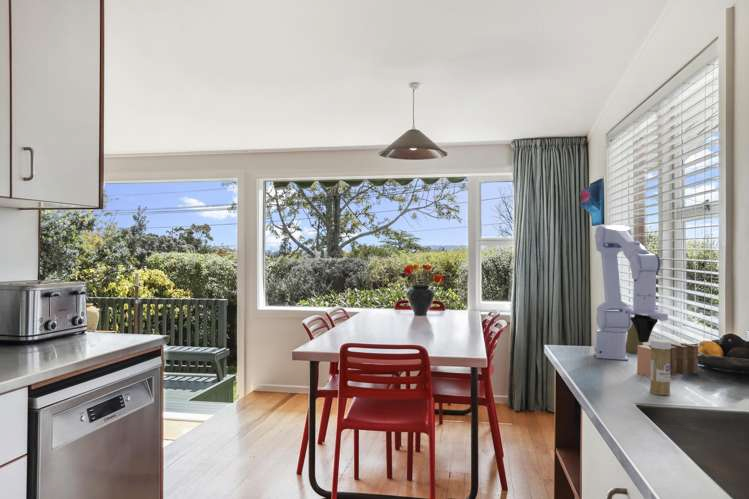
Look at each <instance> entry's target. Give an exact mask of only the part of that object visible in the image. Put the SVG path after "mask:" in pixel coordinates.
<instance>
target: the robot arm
mask: <svg viewBox="0 0 749 499" xmlns="http://www.w3.org/2000/svg"><path fill="white" fill-rule="evenodd" d="M594 238H595V249H596V251H597V252H599V253H600V256H601V266H602V277H603V278H602V280H603V288H604V289H603V290H604V301H603V302H602V303H600V304H598V306H597V308H596V318H595V319H596V324H597V327H598V328H599V329H595V332H594V350H593V351H594V354H595V357H596V358H598V359H606V360H619V361H628V360H629V357H628V356H627V354H626V353H627V352H626V341H627V333H628V330H629V329H630V328H631V326H632V322H633V324H634V326H635V328H636V331H637V335H638V339H639V342H643V343H649V339H650V337H651V335H652V331H653V329H654V328H655V326H656V324H657V323H658V320H659V321H663V322H664V321H668V320H669V313H666V312H661V311H658V310H656V307H657V306H656V301H657V300H656V298H657V274H658V273H659V272H660V270H661V264H662V262H661V261H662V260H661V258H660V256H659V254H658V253H655V252H651V253H650V252H649V250H648V249H646V248H645V246H644V245H643V244H642V243H641V242H640V241H639V240H634V239H633V238H632V230H631V228H630V226H629V225H627V224H626V225H604V224H600V225H599V224H598V226H597V227H596V228H595V234H594ZM622 252H623V255H624V256H625V258H626V259H627V260H628V261H629V263H630V264H629V265H630V266H629V268H630V271H631V278H632V279H633V295H632V296H633V298H632V299H633V300H632V301H633V306H632V307H630V306H629V305H628V304H627V303H625V302H624V301H622V295H621V293H622V292H621V285H620V284H621V283H620V282H621V280H620V274H619V272H620V271H619V261H618V260H619V258H618V255H619V253H622Z"/></svg>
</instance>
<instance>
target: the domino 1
mask: <svg viewBox="0 0 749 499" xmlns="http://www.w3.org/2000/svg"><path fill="white" fill-rule="evenodd" d="M636 355H637V356H636V357H637V362H636V363H637V365H636V367H637V369H636V371H637V372H636V373H637V374H639V375H643V376H646V377H649V378H650V365H651V348H650V347H649V346H645V345H643V346H642V345H641V346H638V354H636Z"/></svg>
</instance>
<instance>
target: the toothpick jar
mask: <svg viewBox="0 0 749 499" xmlns="http://www.w3.org/2000/svg"><path fill="white" fill-rule="evenodd" d="M649 343H650V344H649V345H650V347H651V365H650V377H649V379H650V389H649V391H650V393H651V394H654V395H658V396H669V395H670V394H671V388H670V386H671V375H670V349H671V344H672V341H671V340H667V339H661V338H652V339H651V340H650V342H649Z"/></svg>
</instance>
